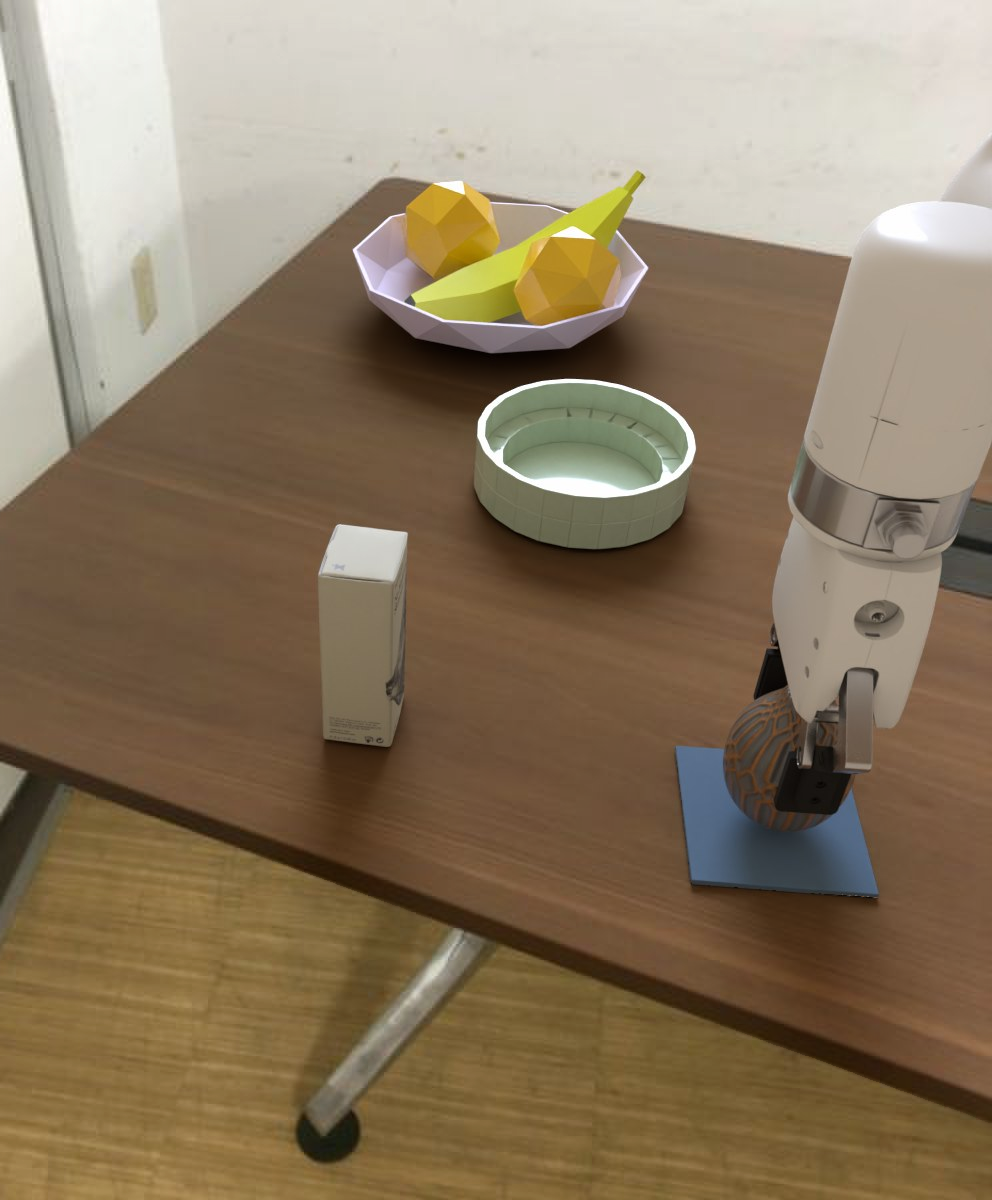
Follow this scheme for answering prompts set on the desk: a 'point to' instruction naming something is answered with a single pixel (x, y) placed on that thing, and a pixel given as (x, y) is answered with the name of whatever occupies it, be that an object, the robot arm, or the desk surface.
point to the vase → (769, 759)
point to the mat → (765, 840)
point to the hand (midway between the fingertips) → (792, 753)
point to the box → (363, 633)
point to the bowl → (583, 463)
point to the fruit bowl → (502, 269)
